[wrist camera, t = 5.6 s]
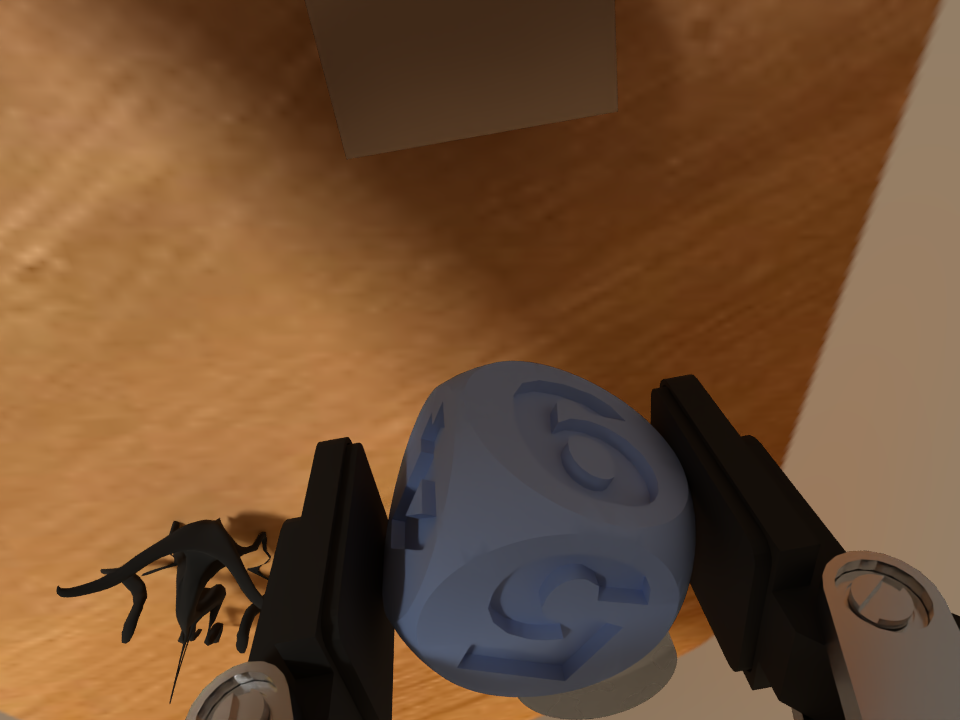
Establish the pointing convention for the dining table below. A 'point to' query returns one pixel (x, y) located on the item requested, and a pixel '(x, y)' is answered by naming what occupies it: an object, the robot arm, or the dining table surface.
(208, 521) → the creature
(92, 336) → the dining table surface
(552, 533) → the decorative dice
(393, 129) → the walnut block
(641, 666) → the dark metal cylinder
